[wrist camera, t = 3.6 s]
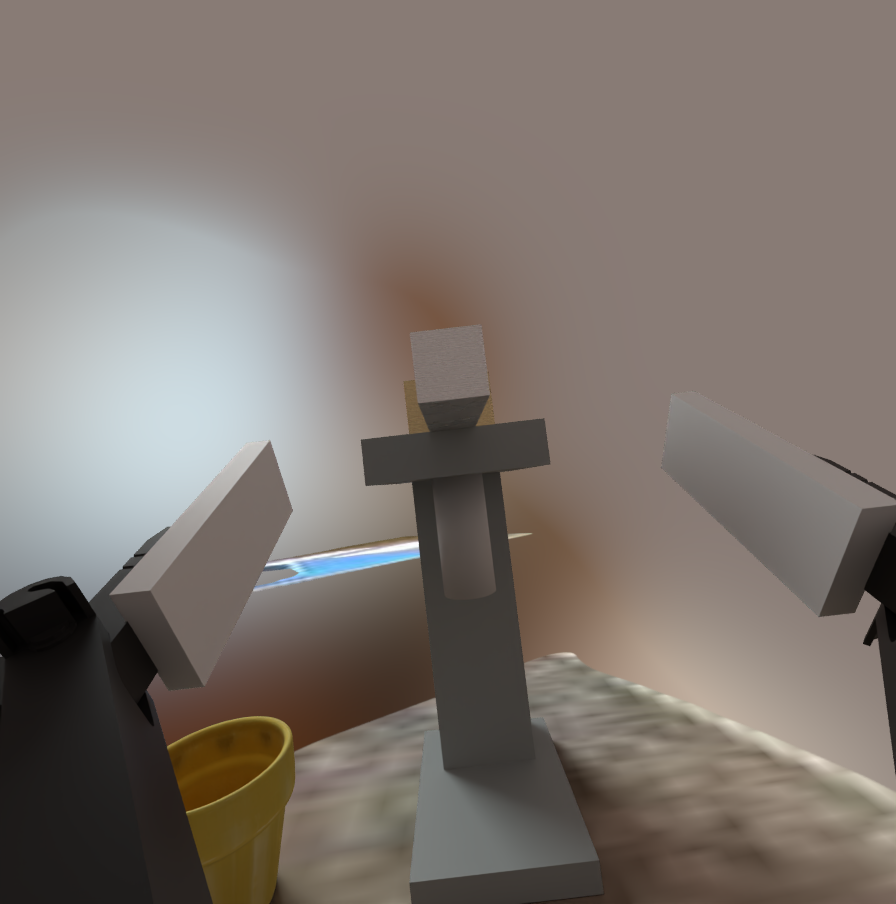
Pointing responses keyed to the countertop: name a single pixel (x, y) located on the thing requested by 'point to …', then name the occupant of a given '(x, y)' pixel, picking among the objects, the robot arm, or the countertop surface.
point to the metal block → (448, 381)
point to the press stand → (481, 684)
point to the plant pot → (237, 803)
